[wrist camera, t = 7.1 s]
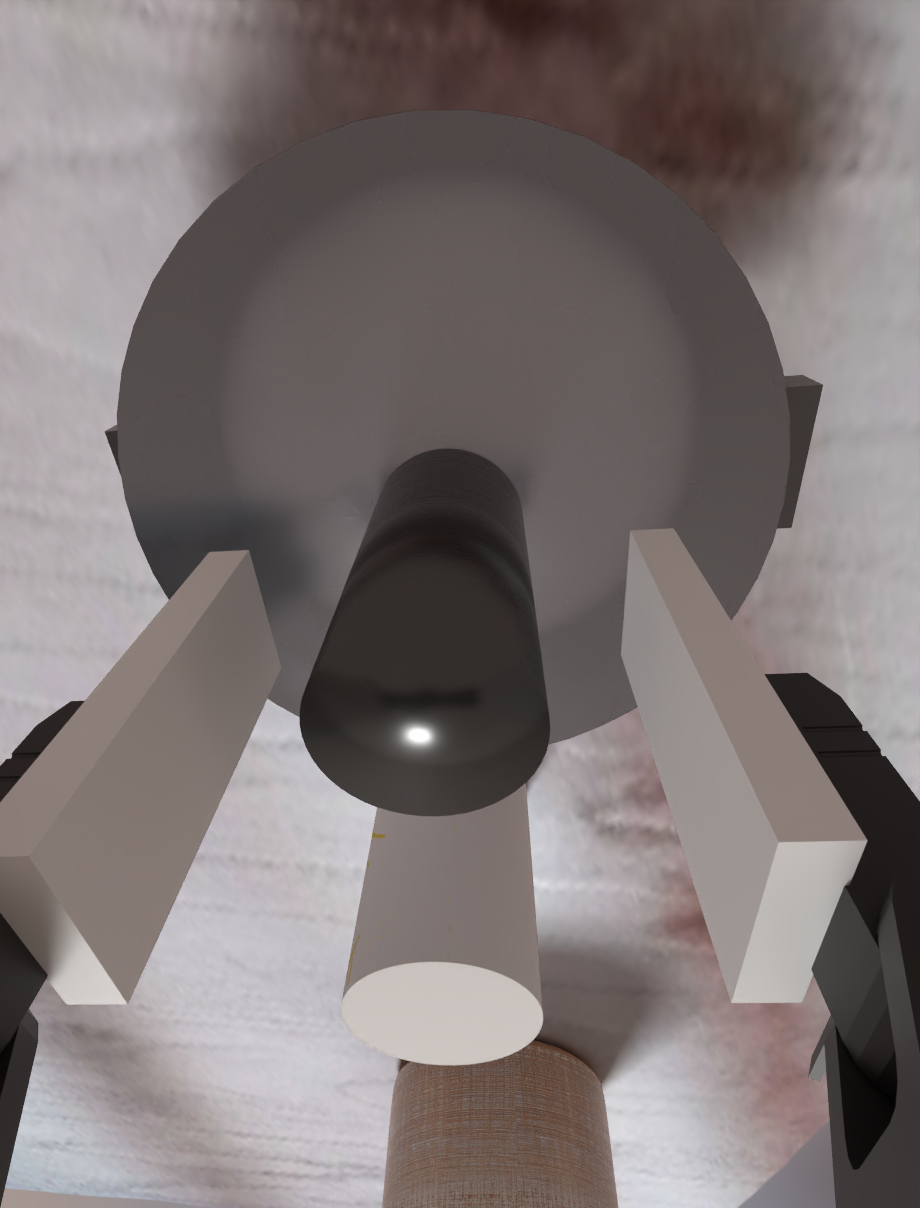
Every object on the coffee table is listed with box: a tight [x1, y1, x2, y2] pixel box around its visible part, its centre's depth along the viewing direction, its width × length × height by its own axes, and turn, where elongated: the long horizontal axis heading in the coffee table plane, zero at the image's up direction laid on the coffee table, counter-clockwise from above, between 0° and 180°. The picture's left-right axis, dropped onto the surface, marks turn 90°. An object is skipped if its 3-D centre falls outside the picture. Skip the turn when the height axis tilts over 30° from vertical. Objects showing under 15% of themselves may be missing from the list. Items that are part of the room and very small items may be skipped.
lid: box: [117, 110, 790, 816], centre depth 13 cm, size 16×16×9 cm
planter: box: [382, 1040, 618, 1208], centre depth 47 cm, size 18×18×16 cm
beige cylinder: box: [341, 783, 543, 1065], centre depth 30 cm, size 8×8×12 cm
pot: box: [105, 375, 823, 528], centre depth 20 cm, size 19×14×9 cm
